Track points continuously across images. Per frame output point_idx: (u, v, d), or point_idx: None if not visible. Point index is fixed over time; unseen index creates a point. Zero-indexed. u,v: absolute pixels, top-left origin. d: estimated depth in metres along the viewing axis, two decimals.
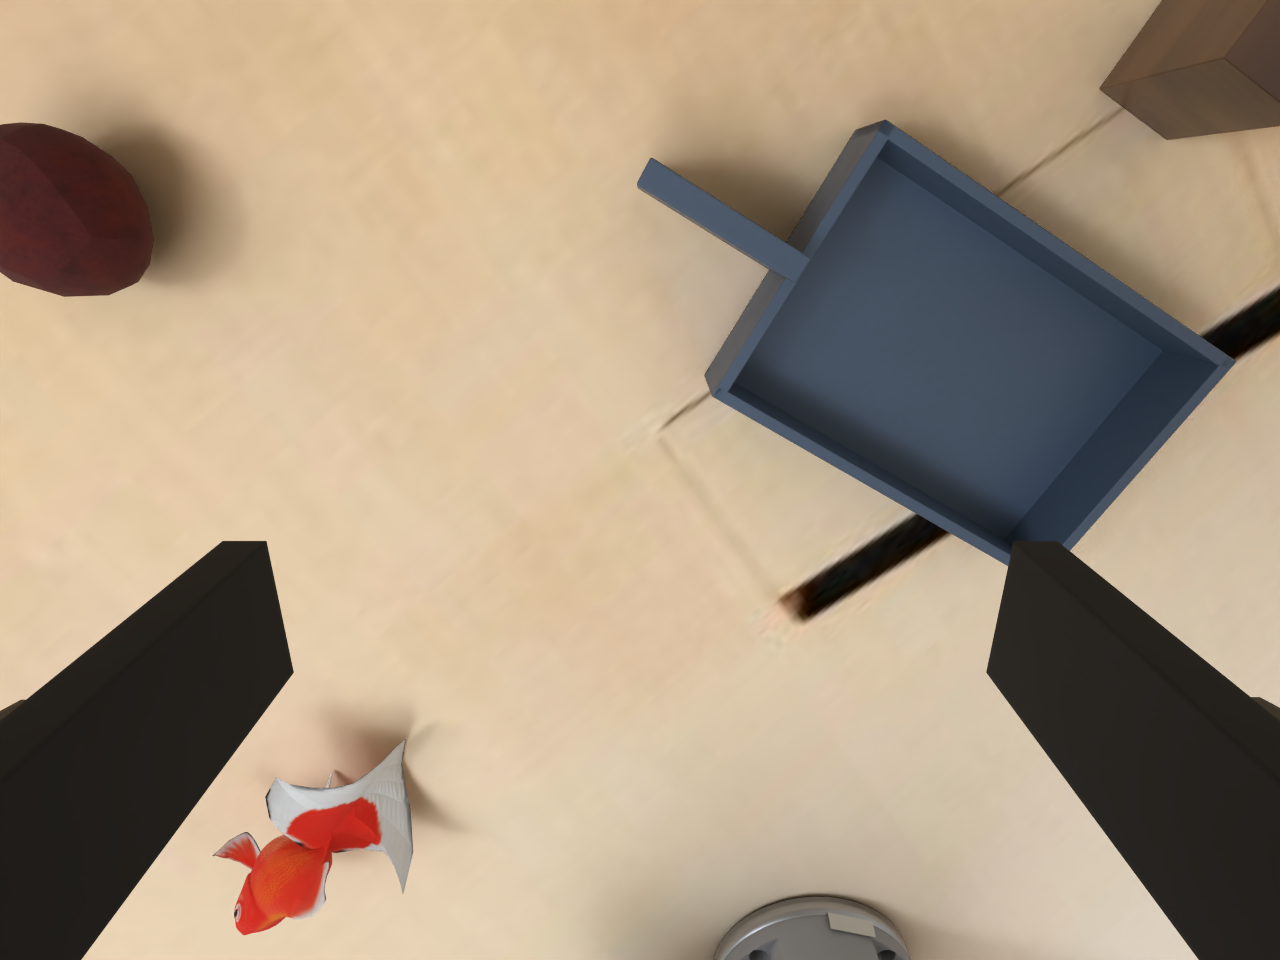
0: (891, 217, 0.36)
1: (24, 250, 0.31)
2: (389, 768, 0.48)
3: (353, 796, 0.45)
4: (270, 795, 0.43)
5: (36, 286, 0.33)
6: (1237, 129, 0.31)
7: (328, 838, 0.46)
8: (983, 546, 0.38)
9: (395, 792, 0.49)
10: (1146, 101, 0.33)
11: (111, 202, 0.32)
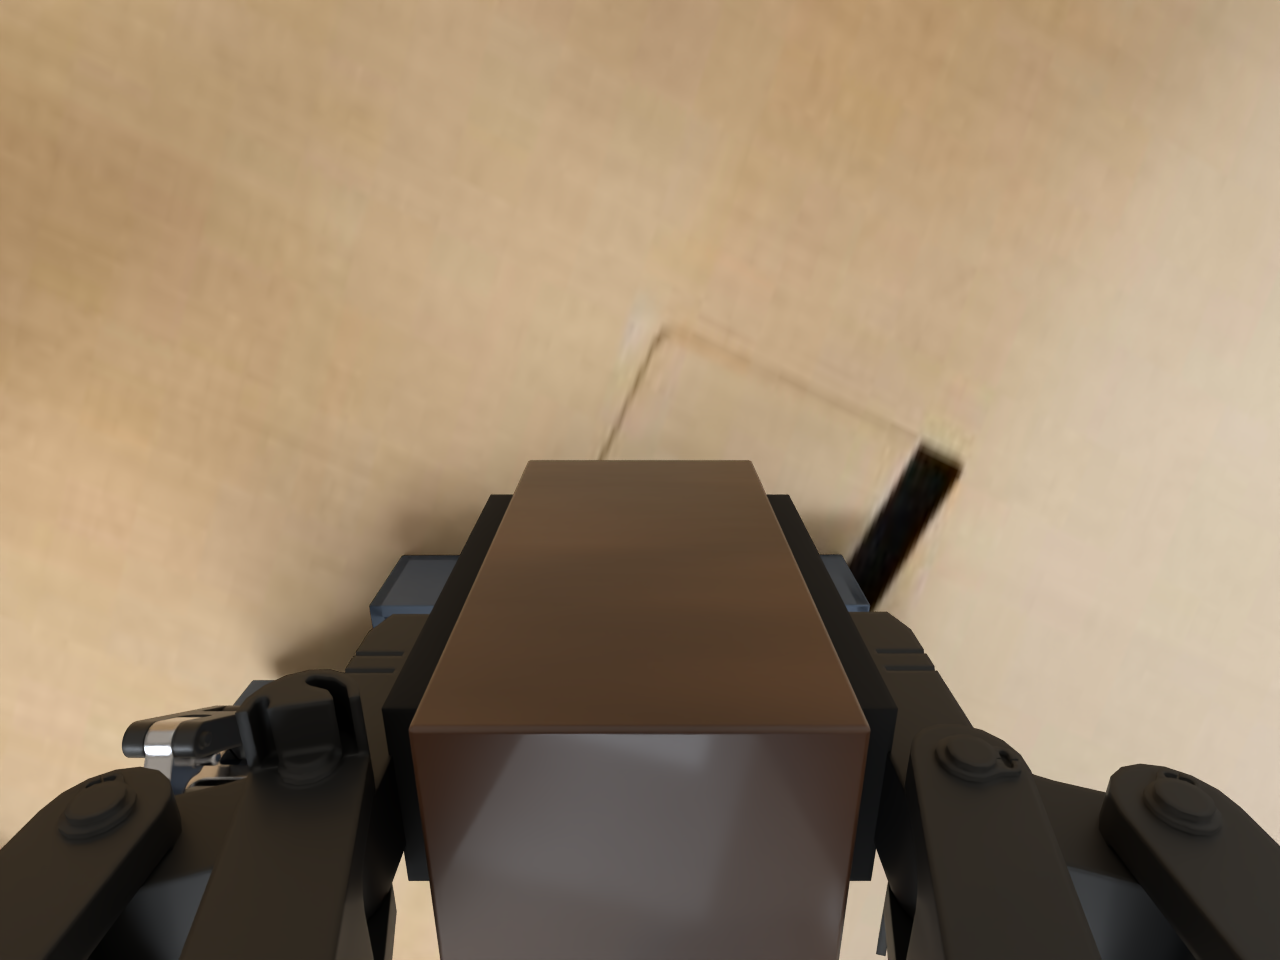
0: None
1: None
2: None
3: None
4: None
5: None
6: None
7: None
8: None
9: None
10: None
11: None
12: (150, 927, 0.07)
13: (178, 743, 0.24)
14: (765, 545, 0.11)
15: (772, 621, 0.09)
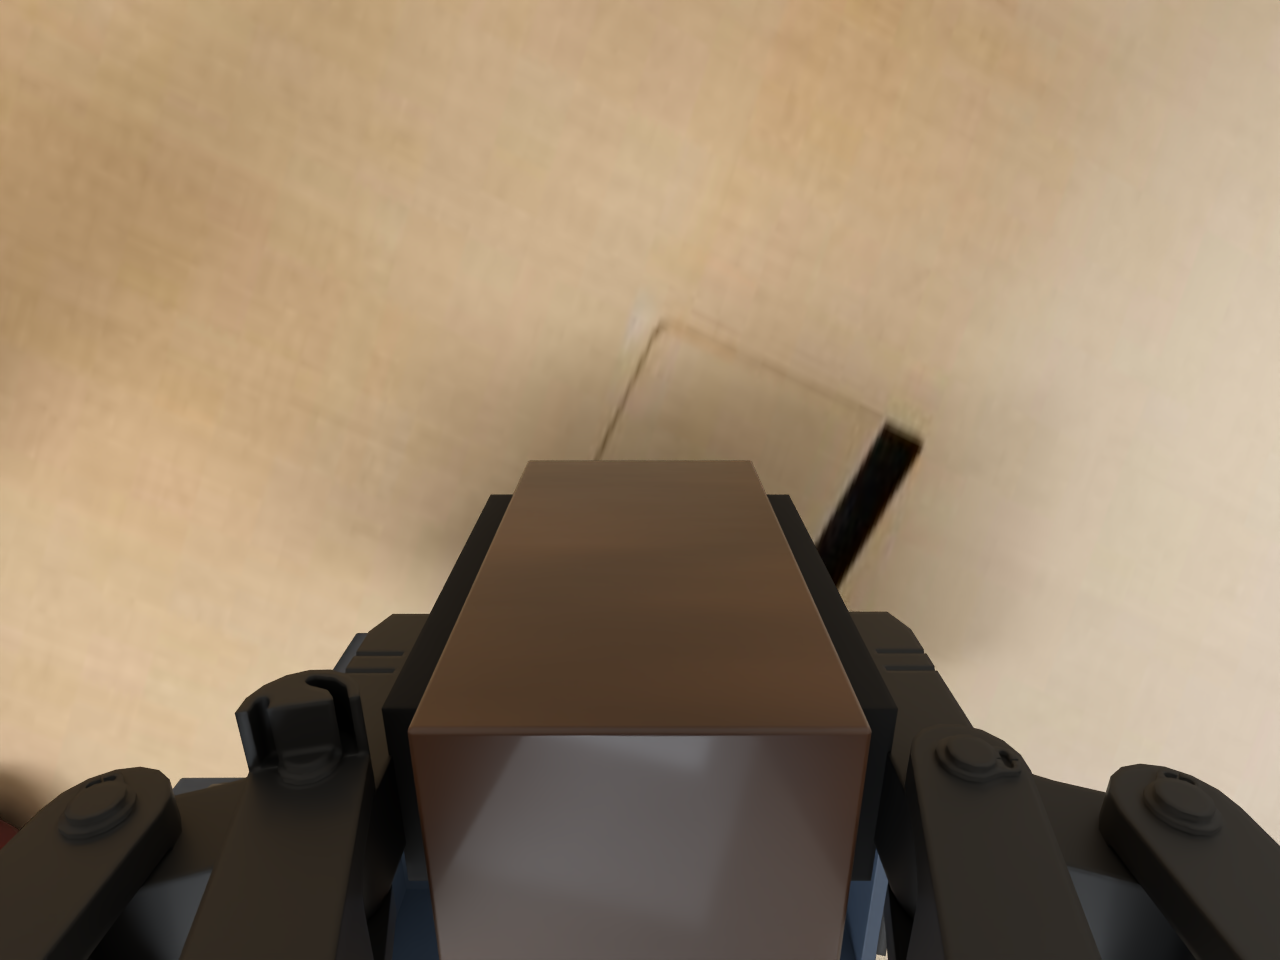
0: None
1: None
2: None
3: None
4: None
5: None
6: None
7: None
8: None
9: None
10: None
11: None
12: (150, 927, 0.07)
13: None
14: (765, 546, 0.11)
15: (773, 622, 0.09)
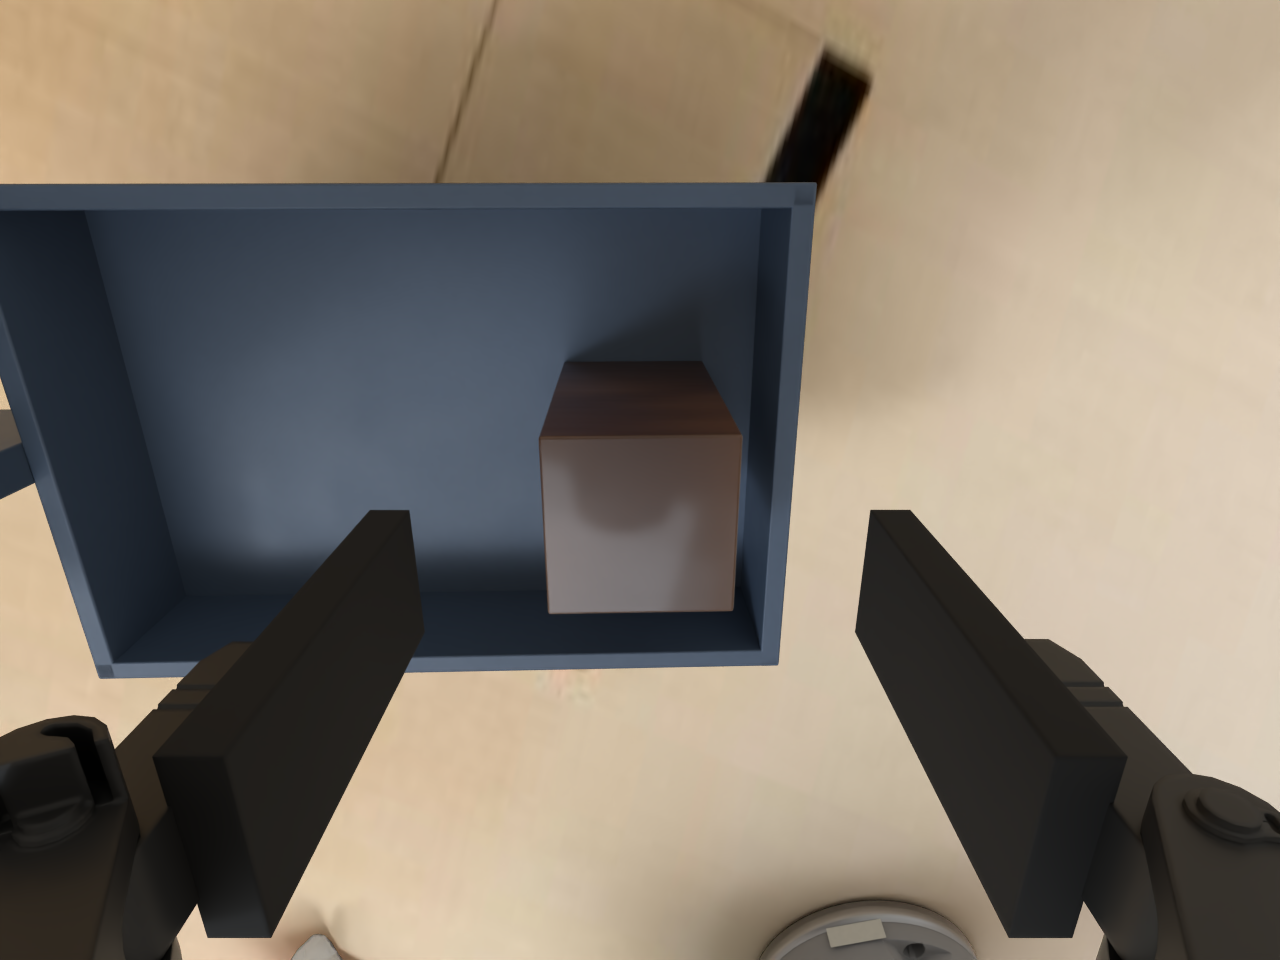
0: (209, 275, 0.22)
1: None
2: None
3: None
4: None
5: None
6: None
7: None
8: (646, 661, 0.23)
9: None
10: None
11: None
12: None
13: None
14: (705, 390, 0.20)
15: (704, 410, 0.18)
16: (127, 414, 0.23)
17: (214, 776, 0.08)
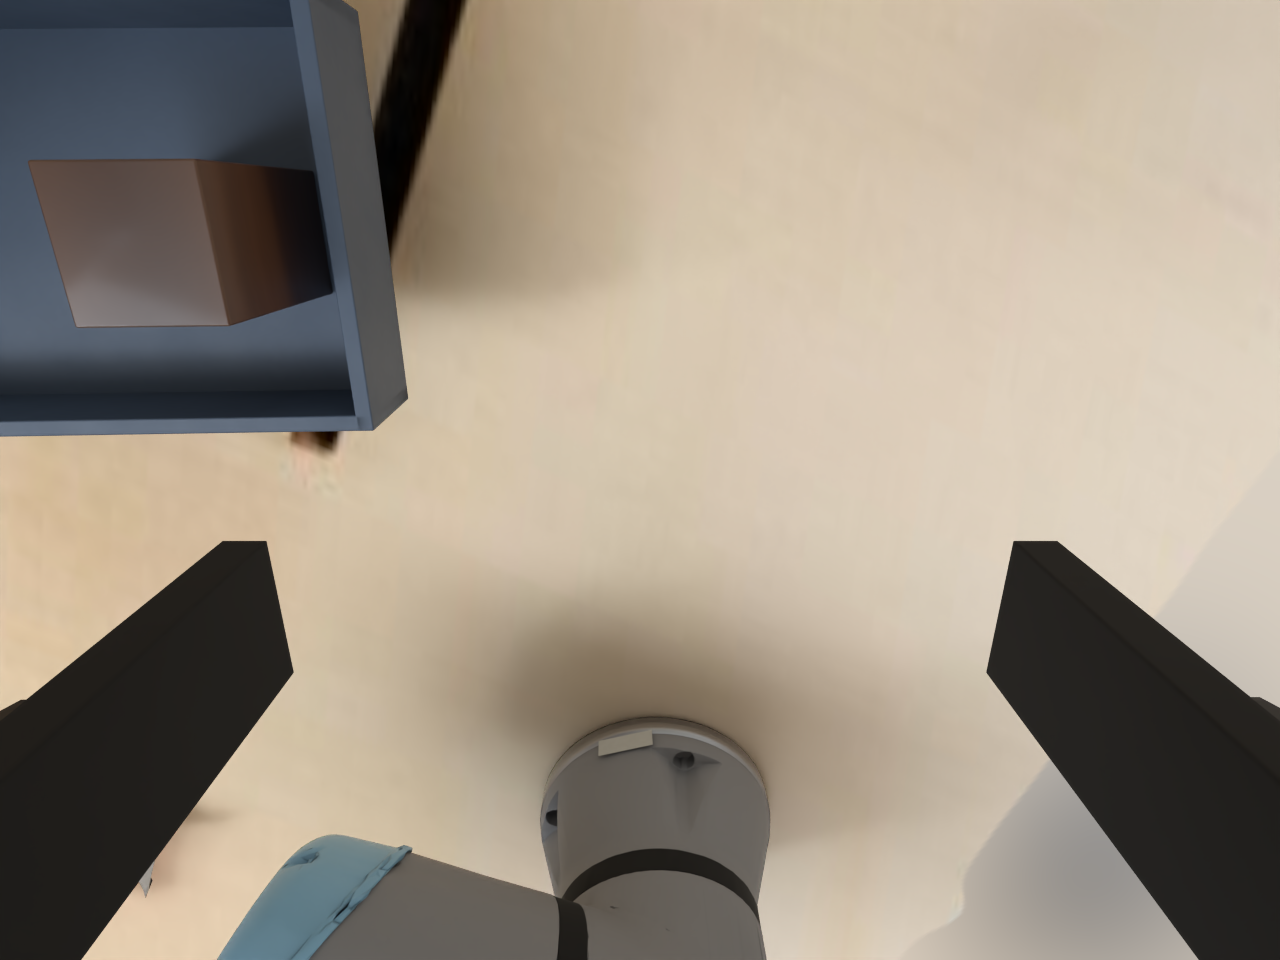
0: None
1: None
2: None
3: None
4: None
5: None
6: None
7: None
8: (256, 425, 0.26)
9: None
10: None
11: None
12: None
13: None
14: None
15: None
16: None
17: None
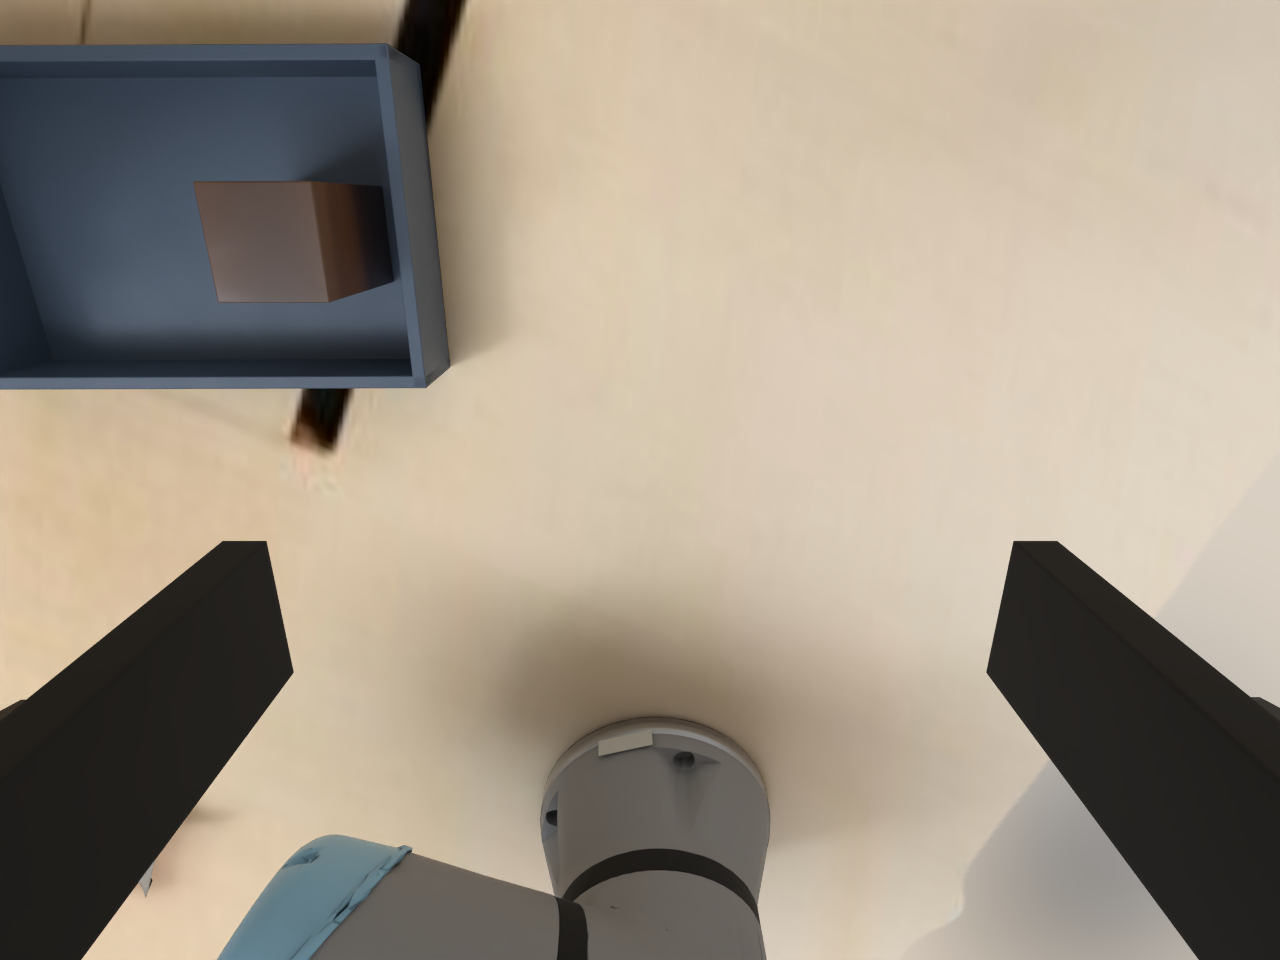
0: (51, 124, 0.34)
1: None
2: None
3: None
4: None
5: None
6: (356, 293, 0.32)
7: None
8: (336, 383, 0.34)
9: None
10: None
11: None
12: None
13: None
14: None
15: None
16: (2, 220, 0.35)
17: None
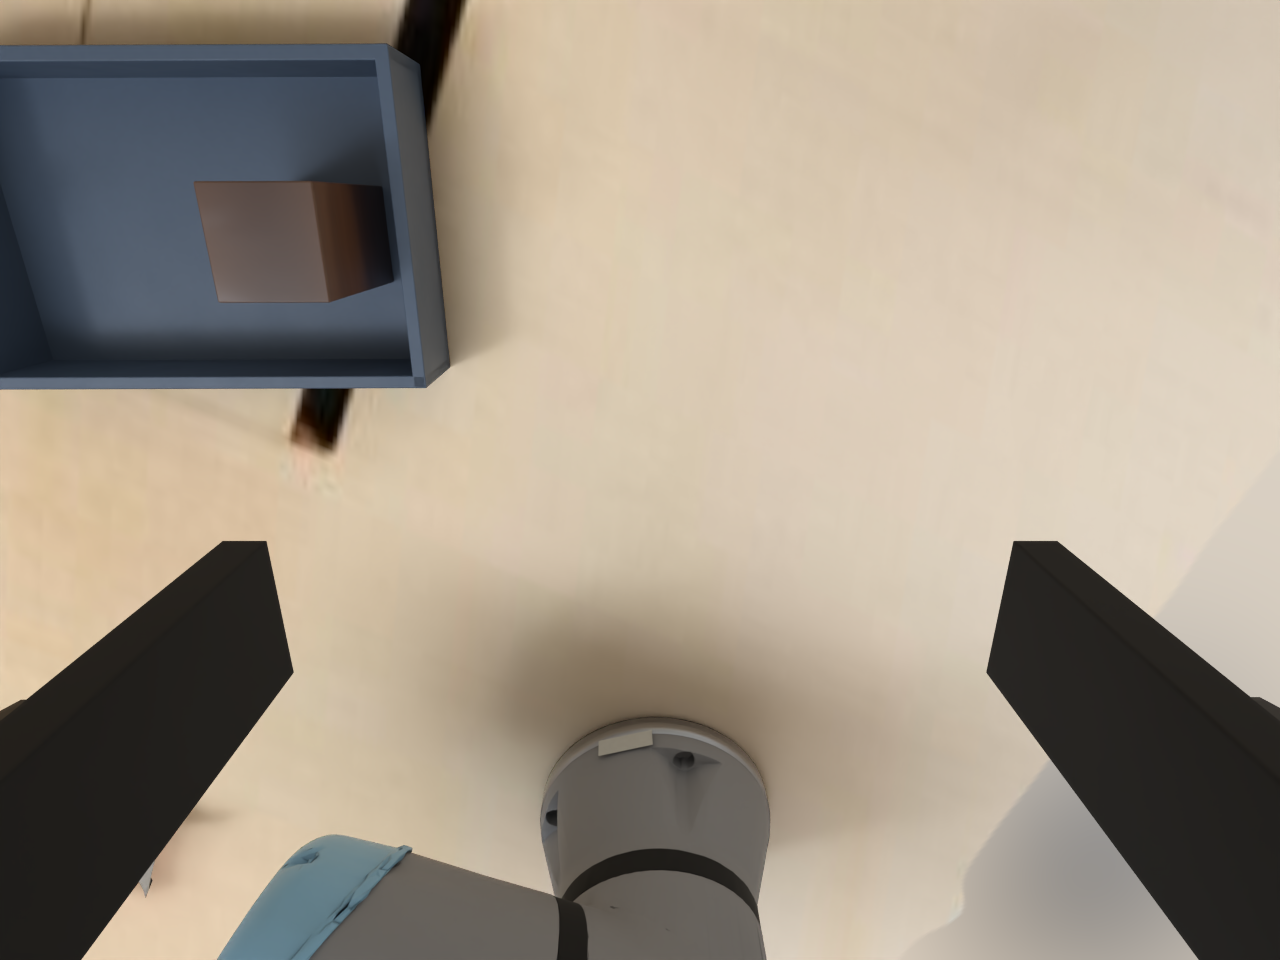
0: (51, 124, 0.34)
1: None
2: None
3: None
4: None
5: None
6: (356, 293, 0.32)
7: None
8: (336, 383, 0.34)
9: None
10: None
11: None
12: None
13: None
14: None
15: None
16: (2, 220, 0.35)
17: None
